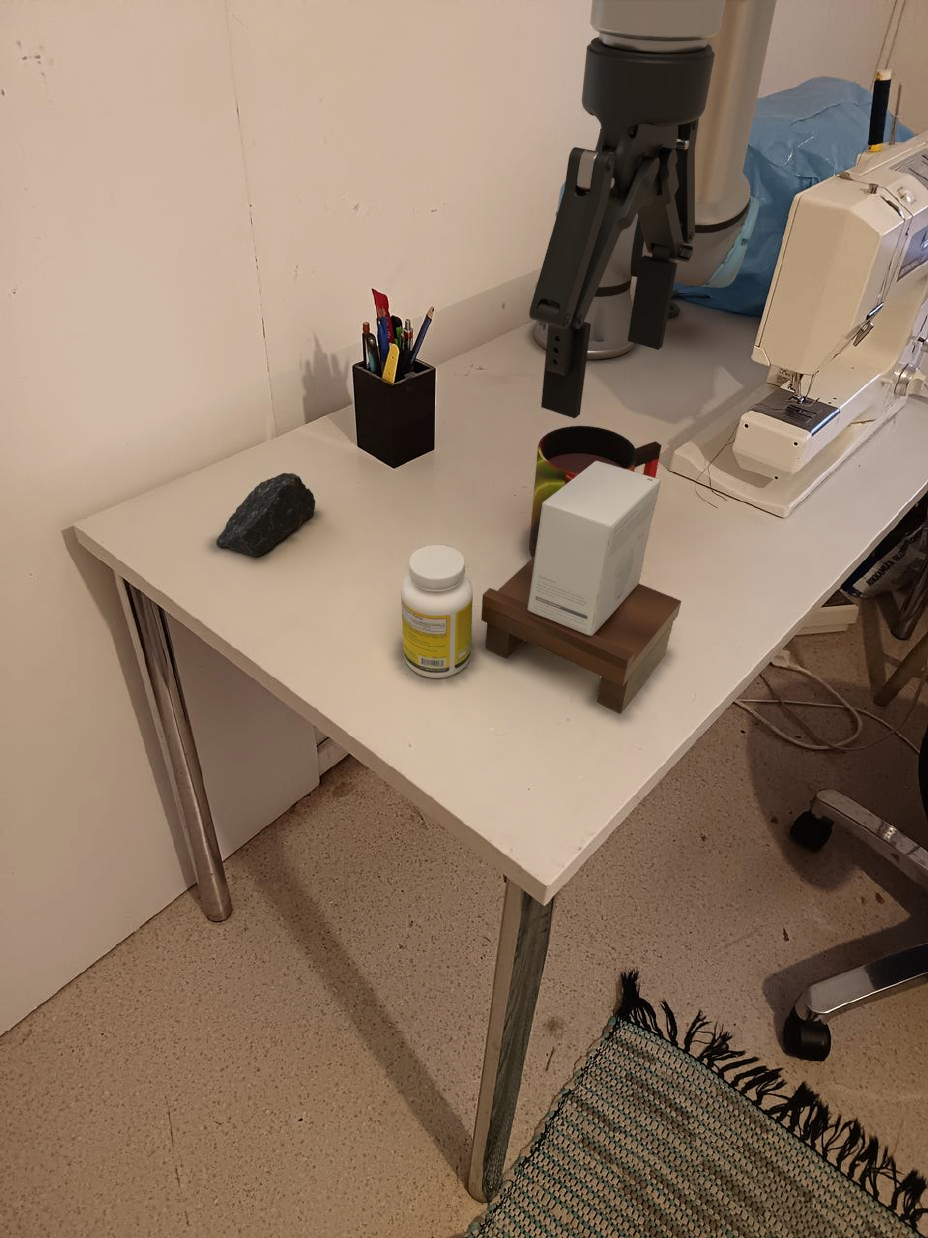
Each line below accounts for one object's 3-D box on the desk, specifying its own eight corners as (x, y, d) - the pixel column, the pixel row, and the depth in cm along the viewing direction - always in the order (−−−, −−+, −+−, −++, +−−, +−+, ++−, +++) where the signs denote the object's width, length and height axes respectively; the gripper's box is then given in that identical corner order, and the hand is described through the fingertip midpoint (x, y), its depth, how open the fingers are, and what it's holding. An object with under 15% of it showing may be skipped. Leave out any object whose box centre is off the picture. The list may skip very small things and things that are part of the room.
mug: (648, 522, 97) (667, 425, 89) (597, 589, 88) (614, 487, 80) (569, 496, 101) (581, 400, 93) (513, 558, 92) (520, 458, 84)
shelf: (540, 593, 87) (546, 534, 83) (669, 650, 81) (684, 590, 77) (479, 654, 80) (482, 594, 76) (615, 721, 75) (628, 660, 70)
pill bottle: (452, 626, 83) (454, 531, 76) (482, 667, 79) (487, 571, 72) (392, 645, 81) (388, 549, 74) (420, 689, 77) (419, 592, 70)
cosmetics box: (575, 560, 82) (595, 456, 76) (639, 584, 79) (665, 479, 73) (522, 610, 74) (540, 499, 68) (591, 638, 72) (615, 526, 66)
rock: (206, 546, 92) (197, 499, 88) (264, 498, 99) (257, 453, 95) (262, 565, 89) (255, 518, 86) (317, 515, 96) (312, 469, 93)
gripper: (679, 8, 61) (633, 309, 75) (481, 60, 45) (470, 427, 59) (785, 20, 58) (716, 331, 72) (611, 80, 42) (567, 462, 56)
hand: (605, 375), depth 66 cm, fingers open, 13 cm apart
